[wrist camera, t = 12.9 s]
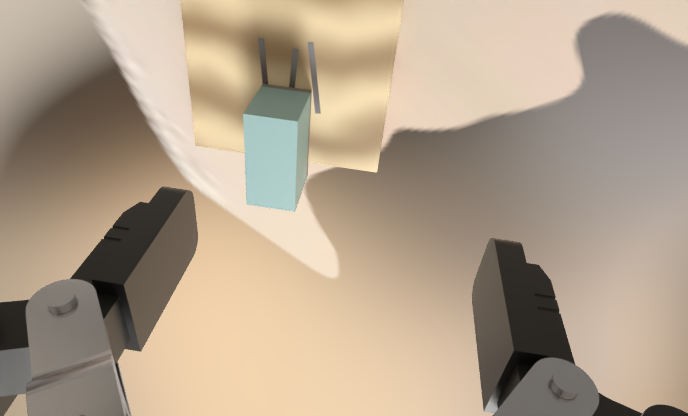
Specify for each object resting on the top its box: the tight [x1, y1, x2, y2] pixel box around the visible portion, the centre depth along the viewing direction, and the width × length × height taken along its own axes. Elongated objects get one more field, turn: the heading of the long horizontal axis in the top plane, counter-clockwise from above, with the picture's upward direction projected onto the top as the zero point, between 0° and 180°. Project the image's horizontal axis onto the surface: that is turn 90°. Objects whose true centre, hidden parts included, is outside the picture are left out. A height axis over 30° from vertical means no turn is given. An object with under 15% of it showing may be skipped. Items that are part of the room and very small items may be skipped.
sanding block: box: [243, 84, 312, 212], centre depth 44 cm, size 9×4×6 cm, turn 175°
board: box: [181, 0, 404, 172], centre depth 42 cm, size 22×18×2 cm
